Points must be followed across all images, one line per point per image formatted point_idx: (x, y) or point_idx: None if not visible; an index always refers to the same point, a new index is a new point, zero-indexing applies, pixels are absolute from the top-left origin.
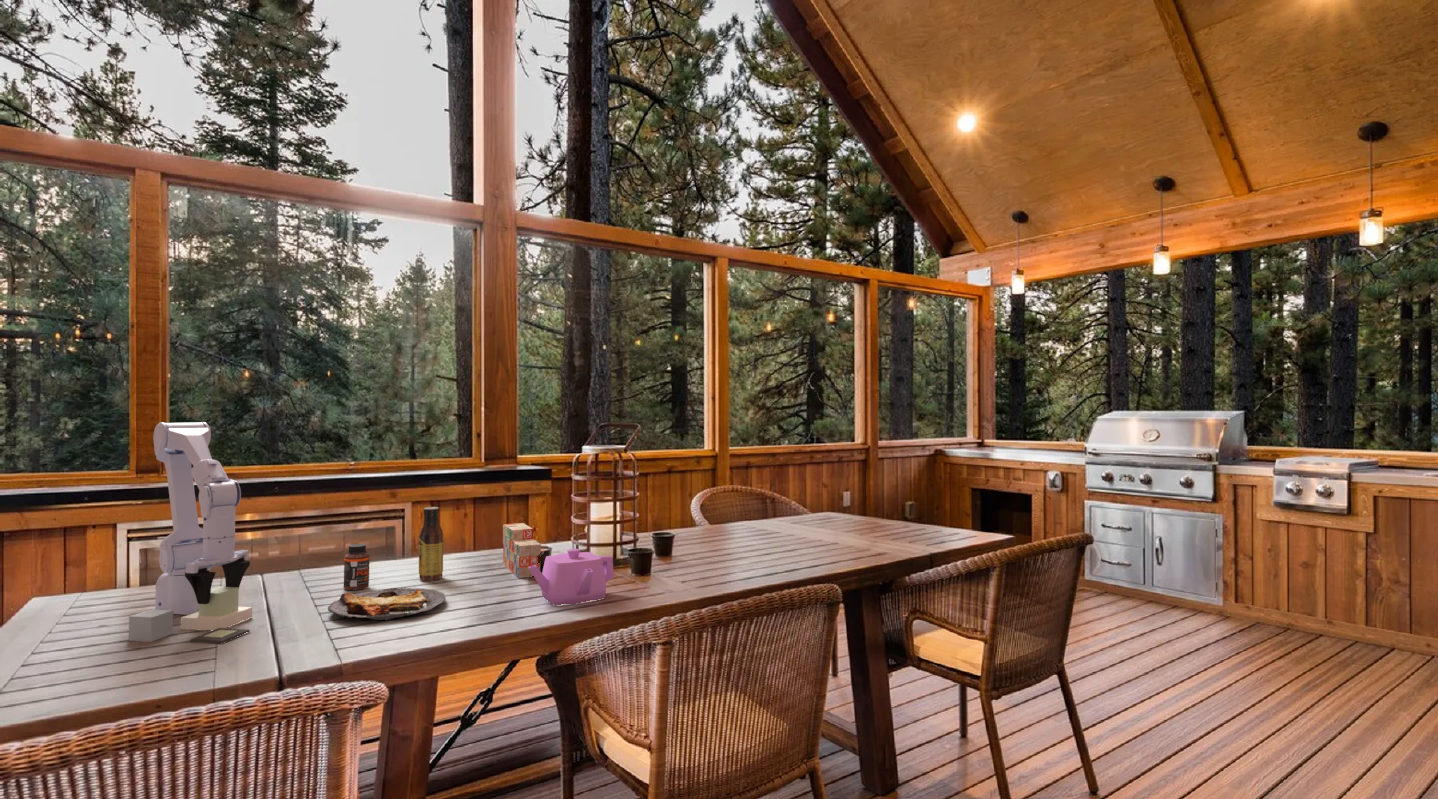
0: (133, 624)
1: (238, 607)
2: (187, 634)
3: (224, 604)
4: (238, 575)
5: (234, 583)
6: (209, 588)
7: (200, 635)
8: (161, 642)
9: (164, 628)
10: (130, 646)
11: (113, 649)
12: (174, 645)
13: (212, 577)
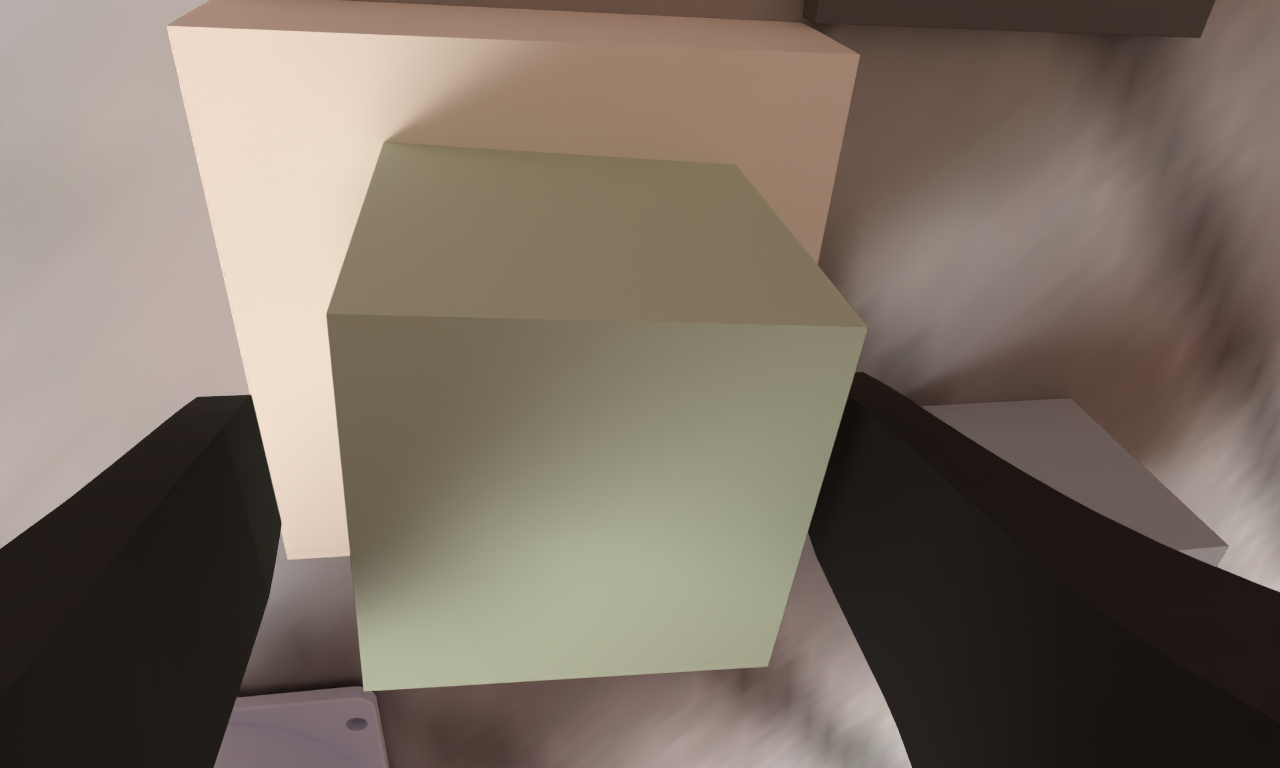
0: None
1: (262, 248)
2: (899, 273)
3: (671, 214)
4: (57, 665)
5: (180, 567)
6: (1015, 501)
7: (1089, 26)
8: (1109, 306)
9: (991, 450)
10: (1157, 441)
11: (1198, 487)
12: (1241, 116)
13: (1249, 660)
